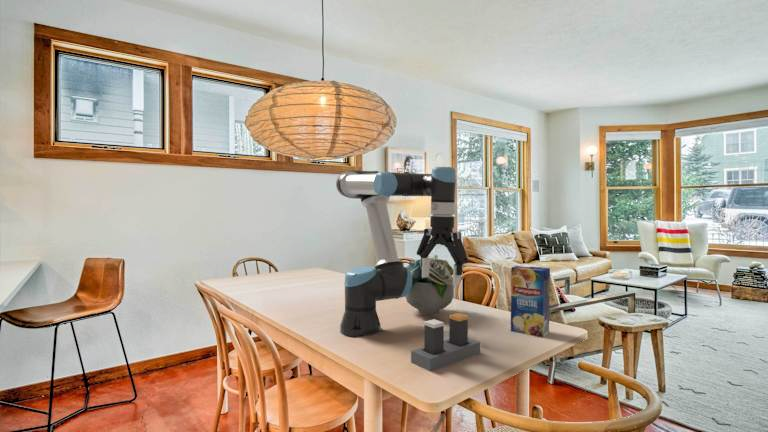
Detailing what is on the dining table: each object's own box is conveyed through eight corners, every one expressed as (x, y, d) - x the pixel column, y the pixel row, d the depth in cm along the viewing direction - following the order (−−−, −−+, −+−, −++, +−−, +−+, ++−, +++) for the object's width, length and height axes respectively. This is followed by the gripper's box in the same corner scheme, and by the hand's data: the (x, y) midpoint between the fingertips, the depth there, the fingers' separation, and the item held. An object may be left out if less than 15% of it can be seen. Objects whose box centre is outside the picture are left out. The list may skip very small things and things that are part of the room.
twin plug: (424, 361, 121) (424, 321, 120) (433, 358, 123) (434, 319, 123) (433, 366, 118) (434, 325, 117) (443, 362, 120) (444, 322, 120)
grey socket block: (411, 365, 120) (411, 350, 120) (460, 349, 134) (460, 335, 134) (430, 374, 114) (430, 358, 114) (480, 356, 128) (480, 342, 128)
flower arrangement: (440, 325, 159) (440, 263, 158) (388, 314, 174) (389, 258, 173) (468, 311, 179) (468, 256, 178) (419, 303, 194) (420, 252, 193)
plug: (449, 353, 128) (449, 315, 127) (457, 350, 130) (458, 313, 130) (458, 357, 125) (459, 318, 124) (467, 353, 127) (468, 315, 127)
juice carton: (549, 332, 151) (550, 268, 150) (543, 337, 145) (544, 270, 144) (517, 326, 158) (517, 265, 158) (510, 331, 153) (511, 267, 152)
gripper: (407, 213, 137) (405, 275, 139) (465, 218, 118) (462, 290, 120) (423, 212, 142) (421, 272, 144) (481, 217, 123) (478, 287, 124)
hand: (440, 281), depth 132 cm, fingers open, 13 cm apart
